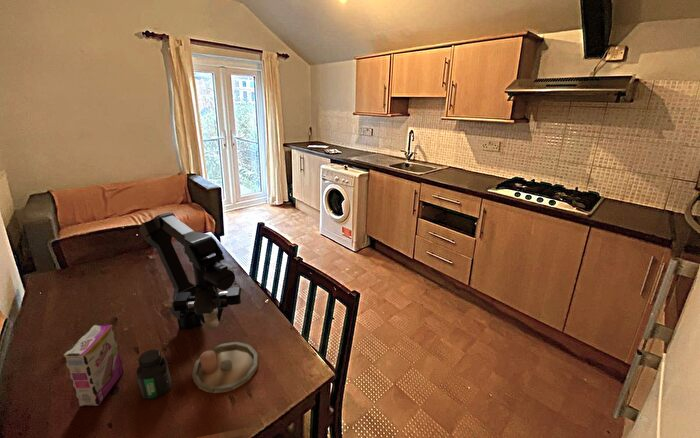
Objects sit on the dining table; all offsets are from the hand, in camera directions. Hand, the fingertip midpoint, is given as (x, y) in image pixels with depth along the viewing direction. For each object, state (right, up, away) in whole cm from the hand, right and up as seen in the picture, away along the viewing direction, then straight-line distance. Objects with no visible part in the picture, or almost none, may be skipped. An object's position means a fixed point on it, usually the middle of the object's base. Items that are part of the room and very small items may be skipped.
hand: (211, 321), depth 100 cm
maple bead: (0, -1, 0) cm, 1 cm away
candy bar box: (-23, -14, -14) cm, 30 cm away
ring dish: (+7, -12, -7) cm, 15 cm away
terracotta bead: (+3, -11, -8) cm, 14 cm away
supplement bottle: (-8, -14, -14) cm, 22 cm away
